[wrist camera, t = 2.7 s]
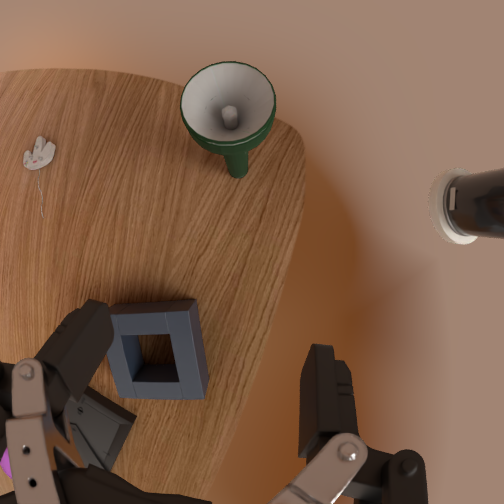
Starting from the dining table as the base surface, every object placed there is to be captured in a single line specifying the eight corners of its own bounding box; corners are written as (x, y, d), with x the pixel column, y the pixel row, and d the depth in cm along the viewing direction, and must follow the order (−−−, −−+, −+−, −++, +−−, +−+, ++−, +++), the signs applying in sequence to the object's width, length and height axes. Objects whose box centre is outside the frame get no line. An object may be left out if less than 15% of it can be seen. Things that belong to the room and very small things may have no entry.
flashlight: (250, 198, 34) (254, 160, 14) (209, 181, 33) (161, 126, 14) (267, 158, 33) (292, 78, 13) (226, 142, 33) (204, 49, 13)
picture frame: (107, 476, 38) (137, 416, 36) (102, 485, 35) (131, 426, 33) (39, 431, 37) (52, 359, 35) (32, 438, 34) (42, 366, 32)
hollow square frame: (196, 298, 35) (188, 310, 30) (209, 379, 36) (204, 399, 31) (114, 304, 35) (97, 314, 30) (132, 379, 36) (119, 397, 31)
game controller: (53, 130, 32) (43, 125, 30) (72, 198, 33) (62, 197, 31) (27, 151, 32) (17, 148, 30) (45, 218, 33) (34, 218, 31)
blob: (-6, 427, 37) (-17, 436, 32) (28, 453, 37) (17, 464, 32) (3, 459, 38) (-6, 468, 33) (34, 482, 39) (26, 493, 34)
